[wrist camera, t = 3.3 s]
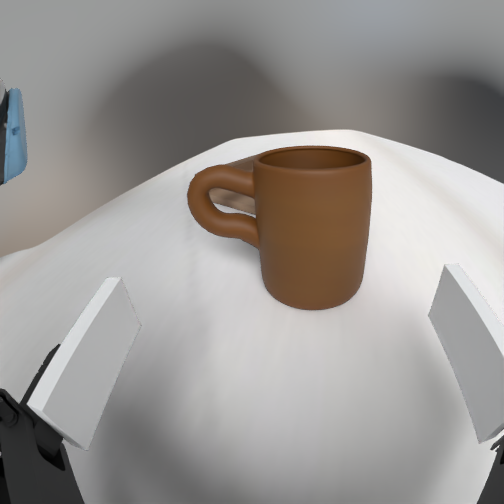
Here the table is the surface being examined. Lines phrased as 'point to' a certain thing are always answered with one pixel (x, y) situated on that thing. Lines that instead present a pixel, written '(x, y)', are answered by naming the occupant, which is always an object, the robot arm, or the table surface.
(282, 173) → the mug
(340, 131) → the table surface
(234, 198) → the u rest
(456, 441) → the table surface
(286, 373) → the table surface
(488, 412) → the robot arm
